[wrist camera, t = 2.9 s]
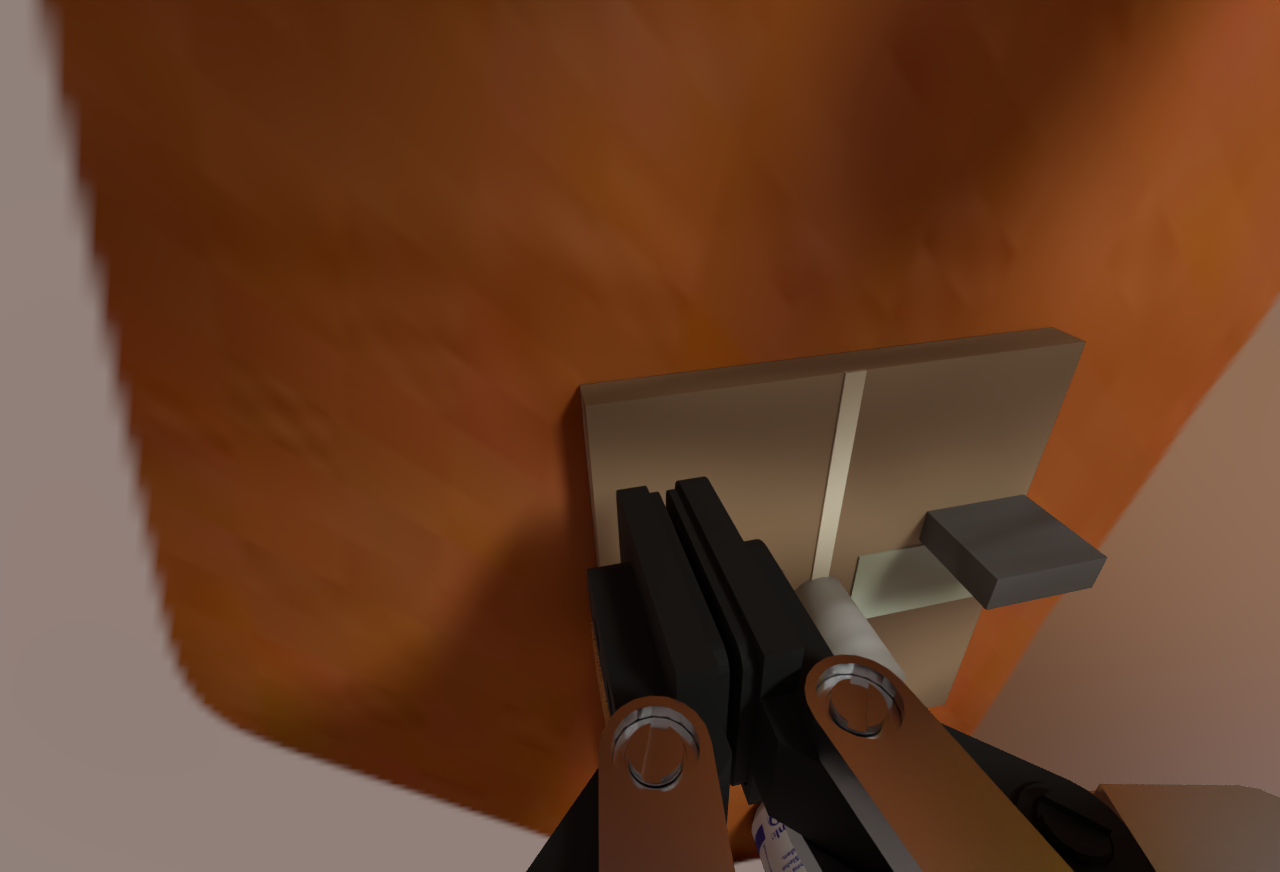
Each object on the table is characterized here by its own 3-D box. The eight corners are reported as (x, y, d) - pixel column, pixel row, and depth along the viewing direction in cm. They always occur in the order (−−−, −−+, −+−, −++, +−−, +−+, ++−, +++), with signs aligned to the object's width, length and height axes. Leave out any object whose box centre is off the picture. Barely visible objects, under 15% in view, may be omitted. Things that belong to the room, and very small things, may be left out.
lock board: (579, 385, 13) (610, 491, 9) (1052, 327, 15) (1219, 397, 11) (614, 752, 20) (639, 887, 16) (927, 680, 22) (1006, 787, 18)
